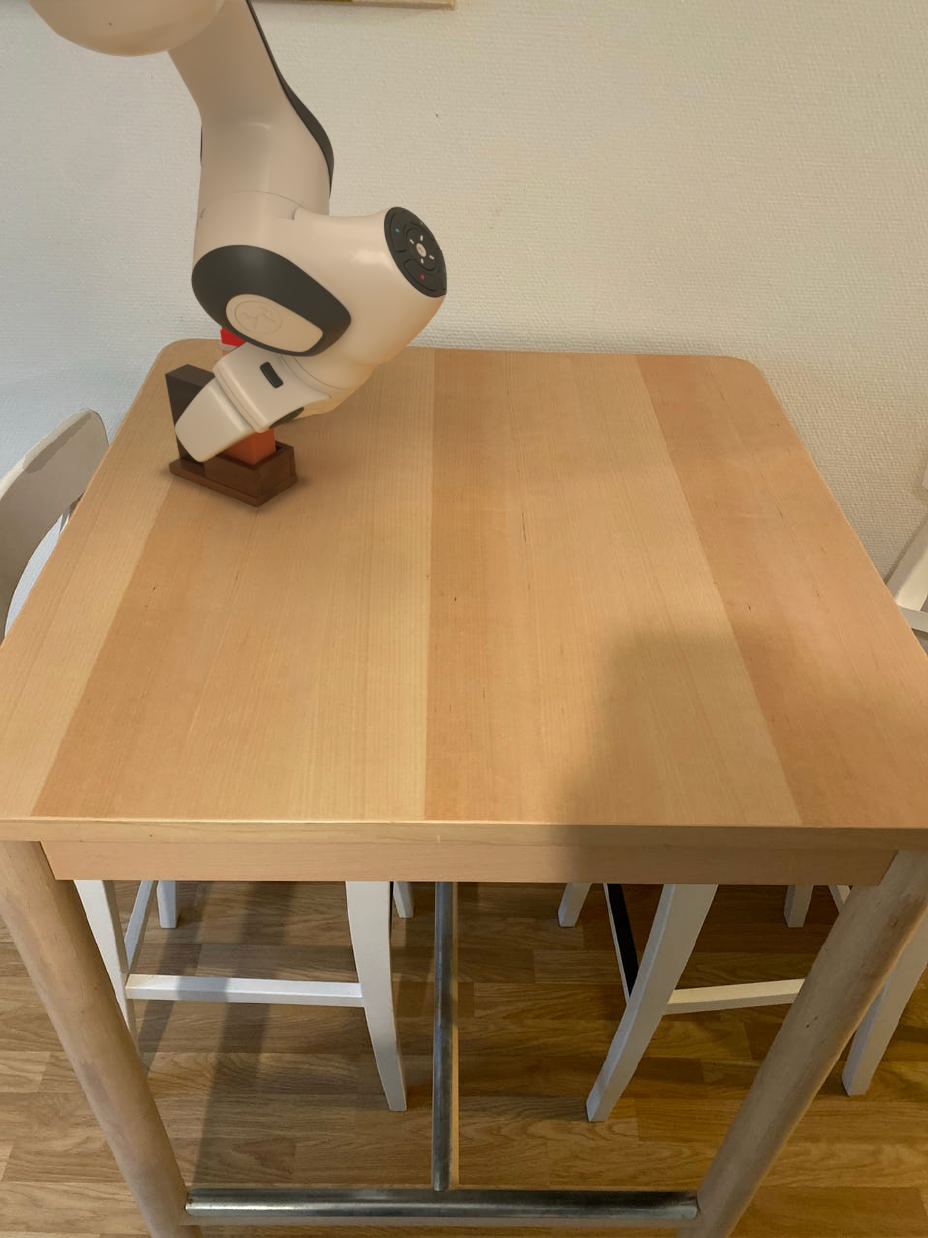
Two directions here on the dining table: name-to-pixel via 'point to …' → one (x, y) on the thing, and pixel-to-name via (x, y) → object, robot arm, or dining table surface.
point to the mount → (221, 469)
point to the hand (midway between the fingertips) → (237, 430)
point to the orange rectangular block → (253, 447)
